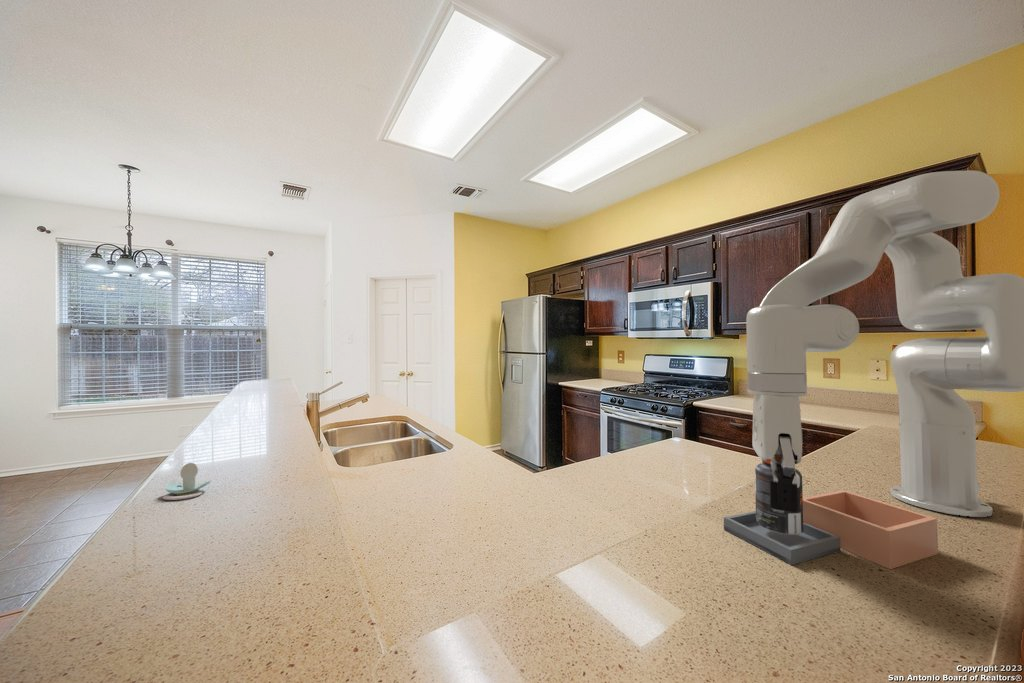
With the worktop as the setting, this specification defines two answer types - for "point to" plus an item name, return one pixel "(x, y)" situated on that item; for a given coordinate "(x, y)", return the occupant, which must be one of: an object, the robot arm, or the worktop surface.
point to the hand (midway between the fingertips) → (778, 499)
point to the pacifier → (185, 484)
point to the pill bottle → (773, 517)
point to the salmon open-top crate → (873, 527)
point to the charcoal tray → (783, 539)
